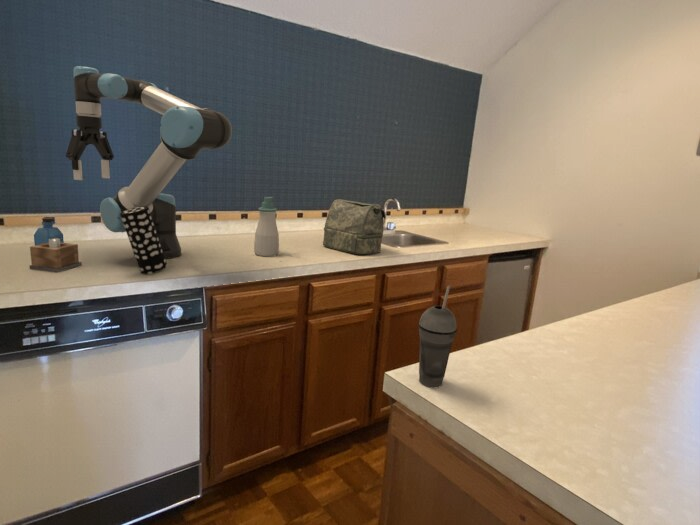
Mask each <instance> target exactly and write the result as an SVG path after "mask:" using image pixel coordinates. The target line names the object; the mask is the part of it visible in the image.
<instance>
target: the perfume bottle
mask: <svg viewBox="0 0 700 525" xmlns="http://www.w3.org/2000/svg"><path fill="white" fill-rule="evenodd" d="M41 219H42V221H41V225H42V226H41V227H38V228H37V229H36V231H35V232H34V234H33V241H34V242H33V243H34V246H35V245H40V244H44V243H49V239H52V238H58V239H60V242H62V243H65V241H64V234H63V232H62V231H61V230H60V229H59V228H58V227H57V226H53V225H54V221H53V217H43V218H41Z"/></svg>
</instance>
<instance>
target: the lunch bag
mask: <svg viewBox="0 0 700 525" xmlns="http://www.w3.org/2000/svg"><path fill="white" fill-rule="evenodd" d="M386 217H387V216H386V212H385V210H384V209H383V208H382V206H381V205H380V204H376V203H365V202H359V201H353V200H348V199H347V200H346V199H342V198H339V199H338V198H337V199H334V201H332V203H331V204H330V207H329V210H328V213H327V216H326V219H325V222H324V227H323V230H324V231H323V241H322V245H323V246H325V247H326V248H329V249H334V250H337V251H341V252H345V253H348V254H354V255H359V256H361V255H362V256H363V255H371V254H379V253H380V252H381V249H382V241H383V235H384V223H385V222H384V220H385V219H387V218H386Z"/></svg>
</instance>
